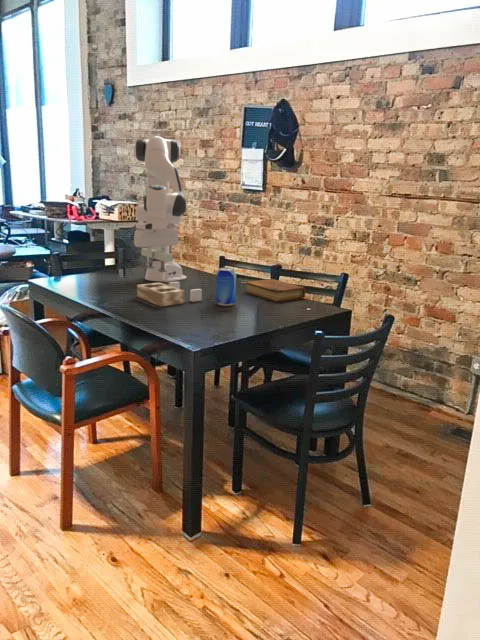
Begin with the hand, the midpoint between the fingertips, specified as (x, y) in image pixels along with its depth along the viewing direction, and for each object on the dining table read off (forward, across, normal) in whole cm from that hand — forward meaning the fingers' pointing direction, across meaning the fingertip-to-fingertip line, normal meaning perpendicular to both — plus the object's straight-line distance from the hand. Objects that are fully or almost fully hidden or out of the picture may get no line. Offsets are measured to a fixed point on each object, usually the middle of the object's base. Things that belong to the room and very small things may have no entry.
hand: (156, 256), depth 227 cm
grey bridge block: (+6, 0, 0) cm, 6 cm away
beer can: (+20, -23, +20) cm, 37 cm away
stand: (+20, -15, 0) cm, 25 cm away
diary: (+20, -57, +16) cm, 62 cm away
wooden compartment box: (+20, -2, 0) cm, 20 cm away
